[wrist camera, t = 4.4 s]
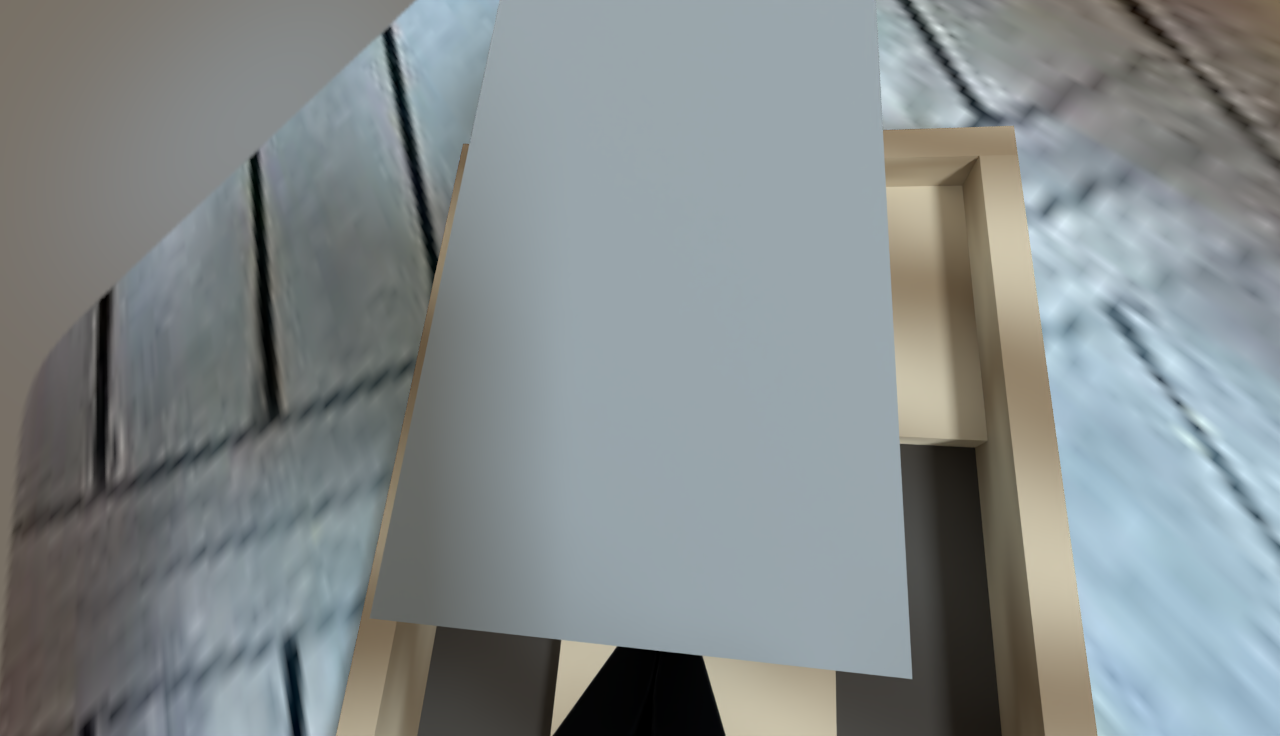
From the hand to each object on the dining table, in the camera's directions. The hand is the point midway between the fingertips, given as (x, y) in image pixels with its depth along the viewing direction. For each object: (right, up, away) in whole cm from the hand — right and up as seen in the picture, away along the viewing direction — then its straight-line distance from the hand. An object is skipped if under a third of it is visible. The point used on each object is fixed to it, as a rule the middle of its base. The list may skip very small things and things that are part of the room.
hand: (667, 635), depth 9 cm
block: (+1, +3, +8) cm, 9 cm away
